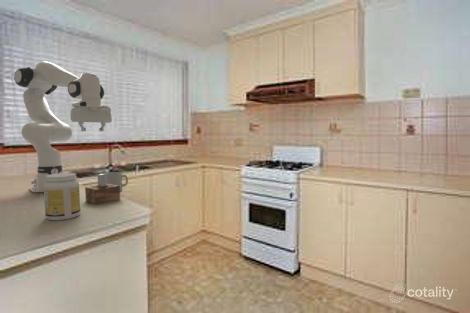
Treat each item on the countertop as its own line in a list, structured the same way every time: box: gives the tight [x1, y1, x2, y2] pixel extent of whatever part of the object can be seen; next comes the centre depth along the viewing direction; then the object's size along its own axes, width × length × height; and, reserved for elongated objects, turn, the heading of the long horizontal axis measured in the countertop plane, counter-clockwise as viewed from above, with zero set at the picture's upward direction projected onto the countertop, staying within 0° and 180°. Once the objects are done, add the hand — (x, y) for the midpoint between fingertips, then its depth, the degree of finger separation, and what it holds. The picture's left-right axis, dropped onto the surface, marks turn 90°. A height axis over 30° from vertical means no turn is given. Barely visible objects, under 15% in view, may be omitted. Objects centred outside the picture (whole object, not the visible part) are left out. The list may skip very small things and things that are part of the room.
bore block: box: [84, 184, 121, 205], centre depth 142 cm, size 10×12×7 cm
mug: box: [104, 171, 129, 193], centre depth 163 cm, size 12×8×11 cm
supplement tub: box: [43, 172, 81, 221], centre depth 115 cm, size 12×12×17 cm
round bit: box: [97, 173, 107, 188], centre depth 142 cm, size 4×4×11 cm
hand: (92, 131), depth 152 cm, fingers open, 8 cm apart
